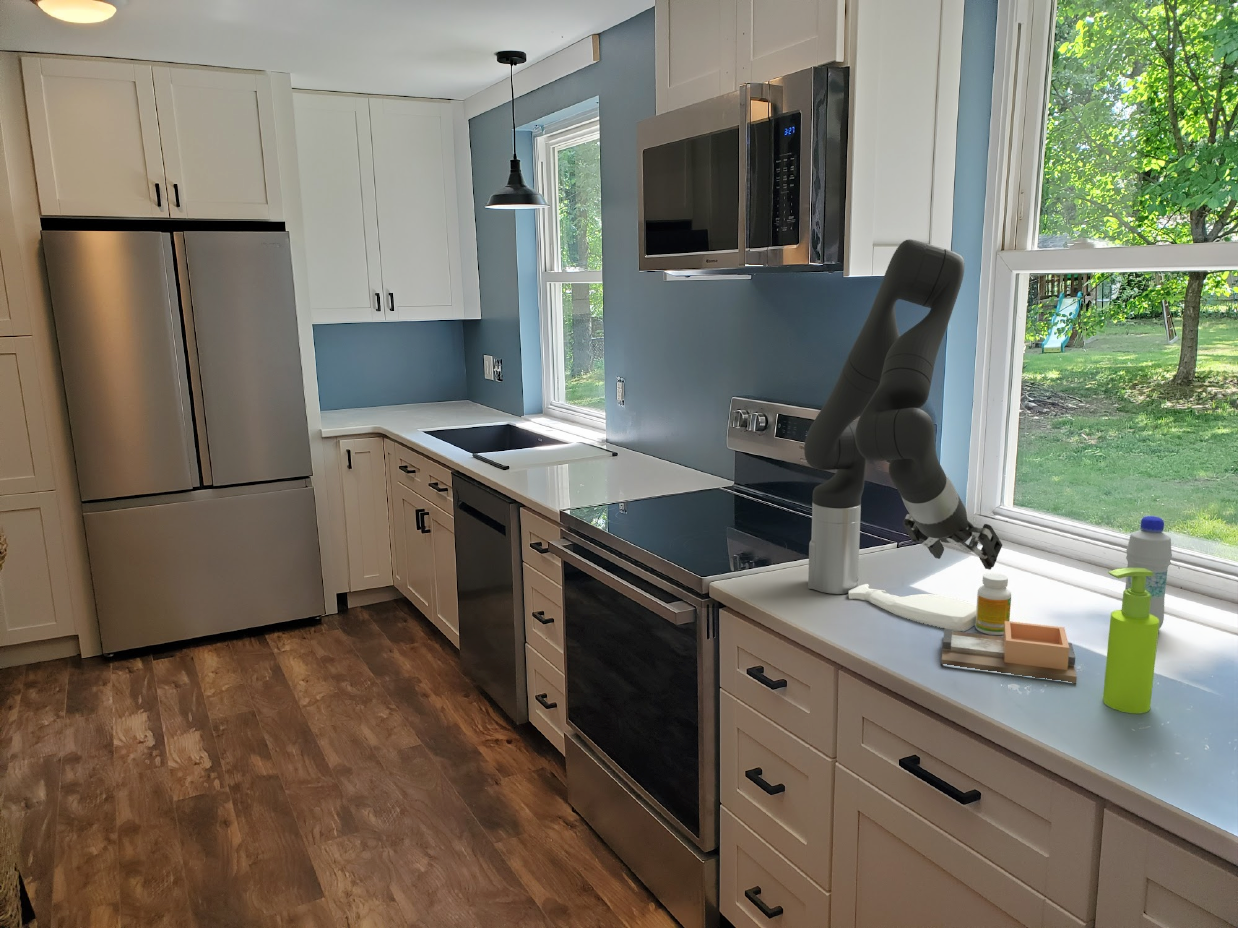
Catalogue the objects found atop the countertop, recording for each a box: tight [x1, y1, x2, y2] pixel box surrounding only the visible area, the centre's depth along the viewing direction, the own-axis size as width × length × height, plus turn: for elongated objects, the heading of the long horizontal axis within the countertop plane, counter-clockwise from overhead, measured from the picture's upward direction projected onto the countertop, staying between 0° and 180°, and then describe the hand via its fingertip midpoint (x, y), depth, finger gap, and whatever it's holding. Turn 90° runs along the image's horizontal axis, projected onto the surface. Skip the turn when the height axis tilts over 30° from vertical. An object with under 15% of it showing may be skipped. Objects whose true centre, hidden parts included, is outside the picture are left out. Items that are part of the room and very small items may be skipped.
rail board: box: [941, 631, 1078, 684], centre depth 143 cm, size 19×13×1 cm
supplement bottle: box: [974, 572, 1012, 636], centre depth 155 cm, size 5×5×10 cm
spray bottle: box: [847, 583, 977, 632], centre depth 166 cm, size 3×11×24 cm
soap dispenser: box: [1102, 567, 1160, 715], centre depth 125 cm, size 6×7×20 cm
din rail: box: [942, 629, 1076, 667], centre depth 143 cm, size 19×6×2 cm, turn 68°
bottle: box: [1124, 515, 1173, 631], centre depth 153 cm, size 7×7×20 cm
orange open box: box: [1002, 621, 1069, 670], centre depth 141 cm, size 9×9×4 cm
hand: (964, 559), depth 145 cm, fingers open, 8 cm apart
